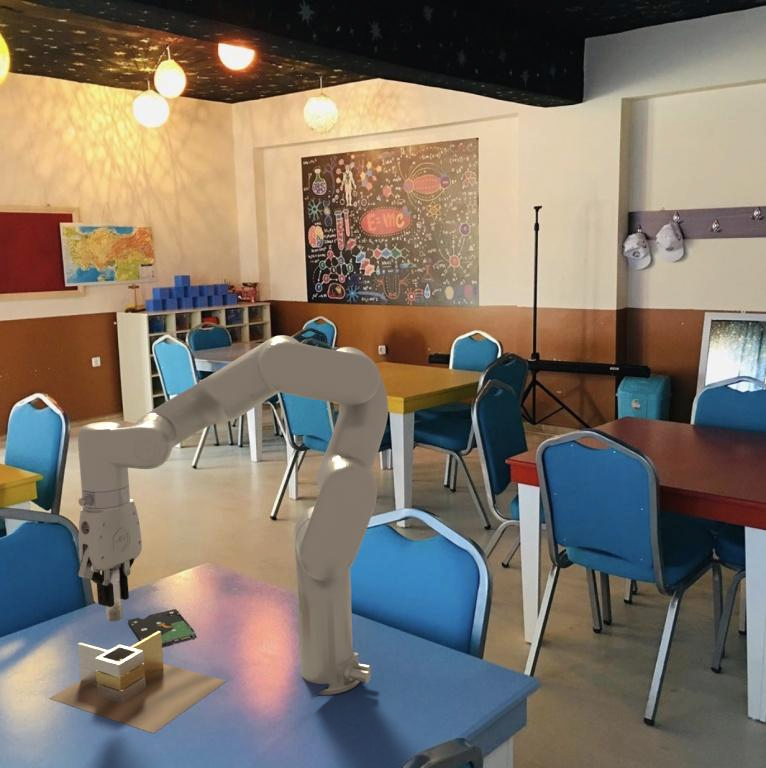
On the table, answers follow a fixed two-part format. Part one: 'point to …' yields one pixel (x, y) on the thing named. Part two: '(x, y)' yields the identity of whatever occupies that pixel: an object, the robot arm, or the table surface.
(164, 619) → the disk drive
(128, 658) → the hinge
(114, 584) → the hinge pin
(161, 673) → the walnut board
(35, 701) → the table surface
